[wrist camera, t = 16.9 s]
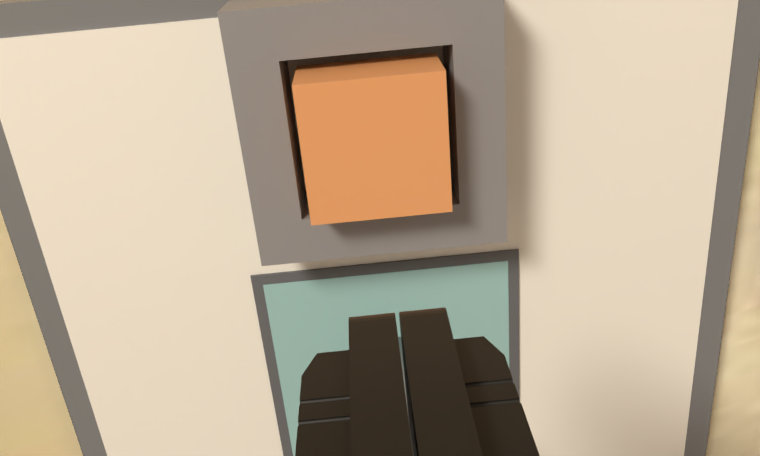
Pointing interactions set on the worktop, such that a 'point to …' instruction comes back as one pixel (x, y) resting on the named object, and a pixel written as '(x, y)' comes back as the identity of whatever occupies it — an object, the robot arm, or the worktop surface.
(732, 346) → the worktop surface
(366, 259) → the drawing board
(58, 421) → the worktop surface
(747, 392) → the worktop surface
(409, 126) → the button
